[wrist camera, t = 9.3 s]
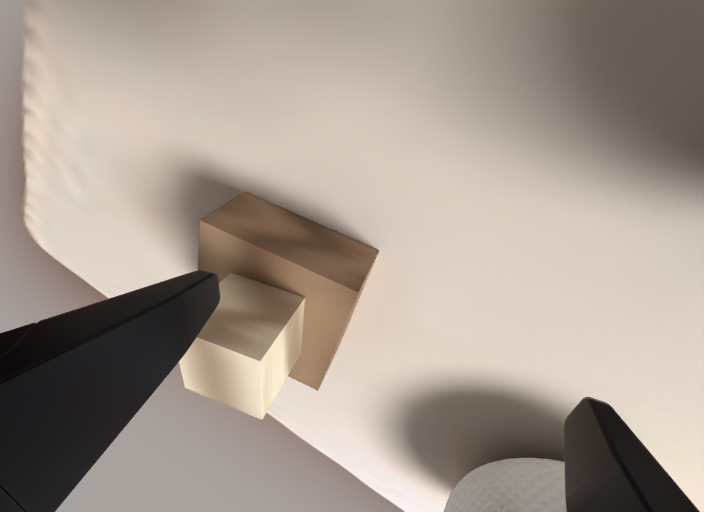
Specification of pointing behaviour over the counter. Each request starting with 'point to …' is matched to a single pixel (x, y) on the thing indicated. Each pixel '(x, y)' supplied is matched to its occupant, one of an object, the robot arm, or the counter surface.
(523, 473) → the cereal bowl
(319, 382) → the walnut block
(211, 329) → the maple cube
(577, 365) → the counter surface
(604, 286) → the counter surface
